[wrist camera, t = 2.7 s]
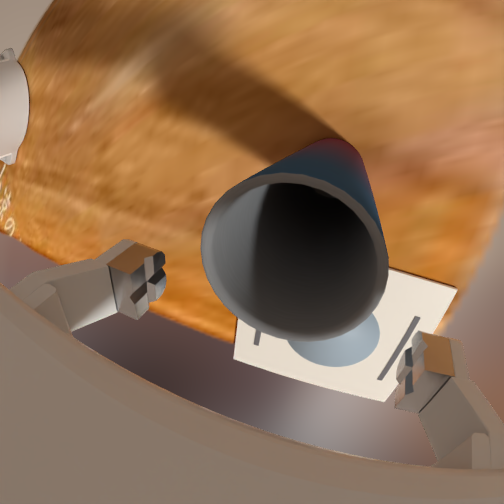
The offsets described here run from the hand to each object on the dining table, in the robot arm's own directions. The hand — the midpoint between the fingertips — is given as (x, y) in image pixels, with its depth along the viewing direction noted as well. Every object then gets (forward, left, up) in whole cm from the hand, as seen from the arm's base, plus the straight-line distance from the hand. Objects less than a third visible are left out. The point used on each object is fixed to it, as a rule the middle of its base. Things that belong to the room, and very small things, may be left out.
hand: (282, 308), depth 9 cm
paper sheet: (+4, -16, -17) cm, 24 cm away
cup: (0, 0, -17) cm, 17 cm away
